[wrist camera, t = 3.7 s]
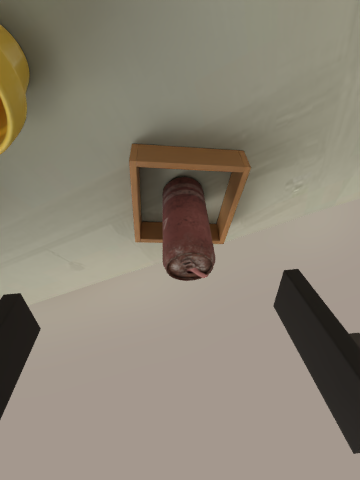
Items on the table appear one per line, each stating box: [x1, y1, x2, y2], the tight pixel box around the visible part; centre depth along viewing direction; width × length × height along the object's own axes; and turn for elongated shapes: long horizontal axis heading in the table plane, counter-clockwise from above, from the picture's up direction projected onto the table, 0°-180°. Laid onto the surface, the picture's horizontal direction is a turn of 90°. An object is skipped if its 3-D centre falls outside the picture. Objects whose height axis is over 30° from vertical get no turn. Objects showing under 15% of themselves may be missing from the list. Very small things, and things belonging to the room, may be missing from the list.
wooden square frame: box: [129, 144, 251, 244], centre depth 35 cm, size 15×15×4 cm
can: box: [163, 177, 215, 281], centre depth 32 cm, size 6×6×14 cm
